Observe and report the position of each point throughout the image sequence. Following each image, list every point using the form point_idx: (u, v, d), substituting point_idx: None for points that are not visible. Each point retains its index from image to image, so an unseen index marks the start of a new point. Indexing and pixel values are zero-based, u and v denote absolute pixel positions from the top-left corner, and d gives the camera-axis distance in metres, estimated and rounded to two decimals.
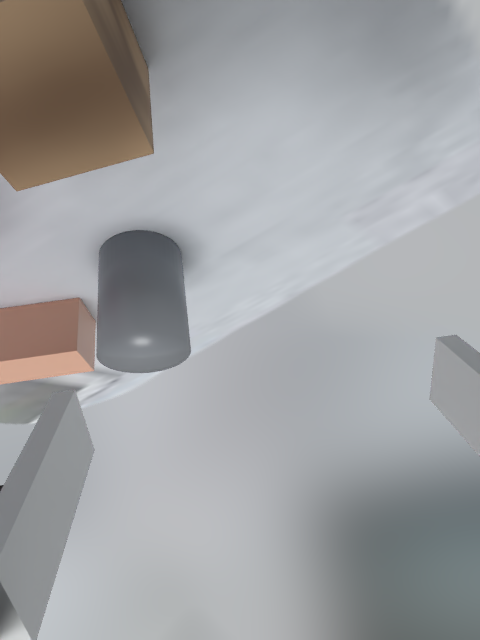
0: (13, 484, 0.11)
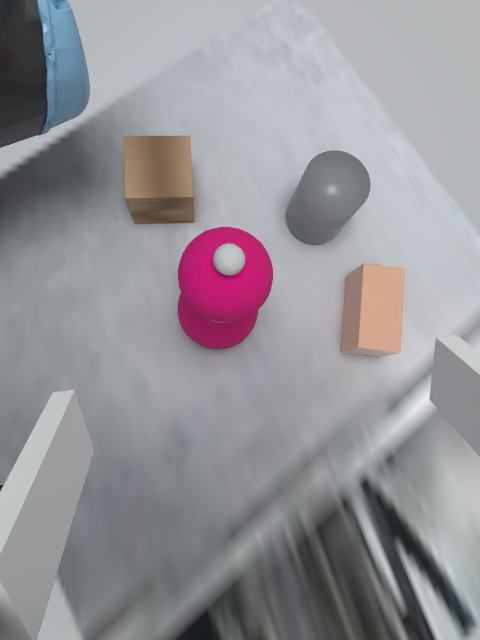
0: (13, 484, 0.11)
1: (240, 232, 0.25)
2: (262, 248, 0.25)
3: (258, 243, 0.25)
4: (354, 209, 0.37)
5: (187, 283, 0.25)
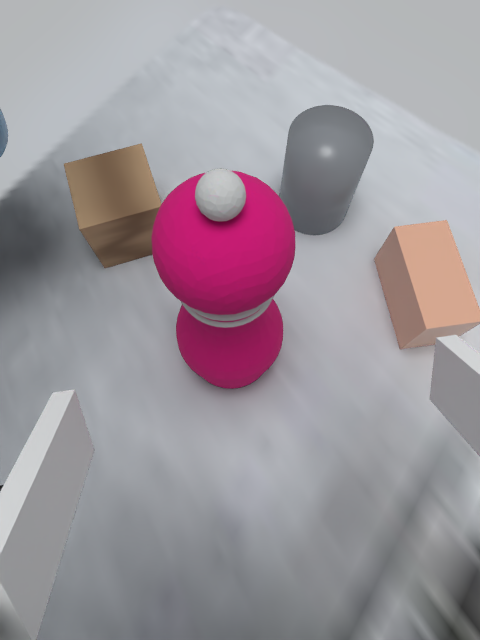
0: (13, 484, 0.11)
1: None
2: (265, 184, 0.17)
3: (258, 179, 0.17)
4: (362, 161, 0.29)
5: (167, 259, 0.16)
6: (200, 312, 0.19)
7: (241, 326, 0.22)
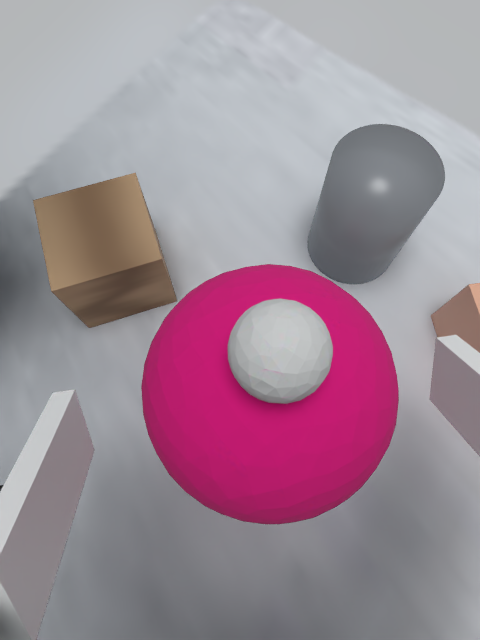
0: (13, 484, 0.11)
1: (278, 269, 0.09)
2: (347, 293, 0.09)
3: (332, 284, 0.09)
4: (432, 201, 0.21)
5: (171, 450, 0.08)
6: None
7: None
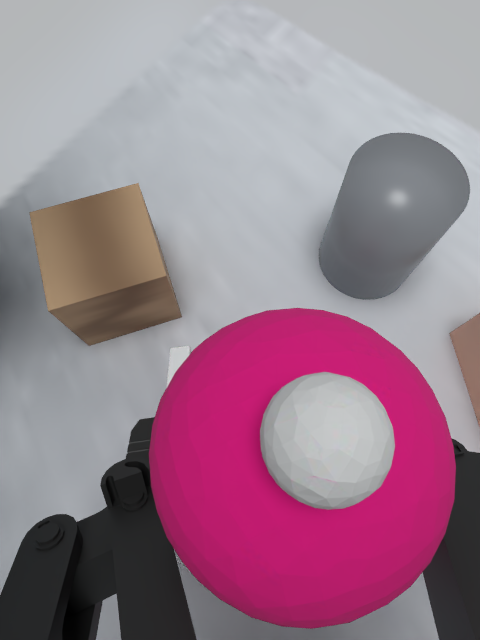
0: None
1: (311, 317, 0.08)
2: (392, 346, 0.08)
3: (374, 334, 0.08)
4: (456, 216, 0.20)
5: (185, 543, 0.07)
6: None
7: None
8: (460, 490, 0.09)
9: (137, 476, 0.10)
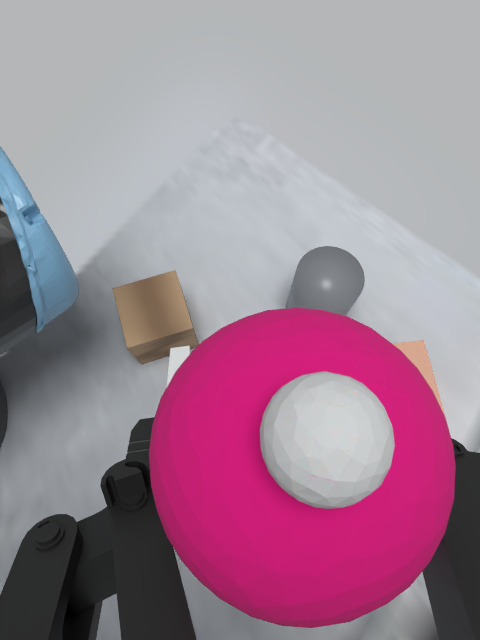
0: None
1: (311, 317, 0.08)
2: (391, 346, 0.08)
3: (374, 334, 0.08)
4: (355, 298, 0.36)
5: (185, 543, 0.07)
6: None
7: None
8: (460, 490, 0.09)
9: (137, 476, 0.10)
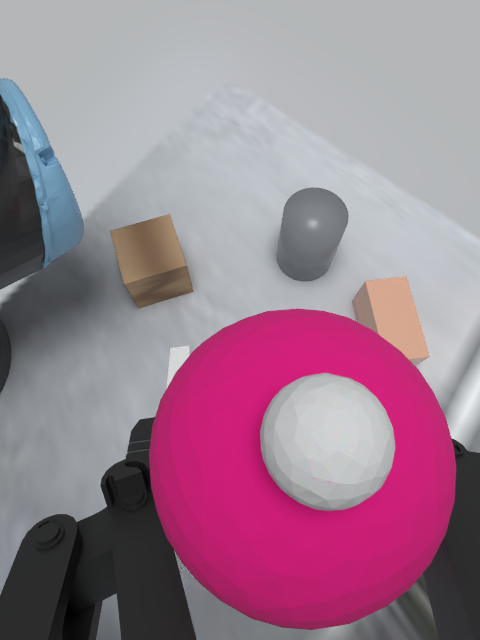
0: None
1: (311, 318, 0.08)
2: (392, 347, 0.08)
3: (375, 335, 0.08)
4: (339, 233, 0.38)
5: (185, 544, 0.07)
6: None
7: None
8: (460, 490, 0.09)
9: (137, 476, 0.10)
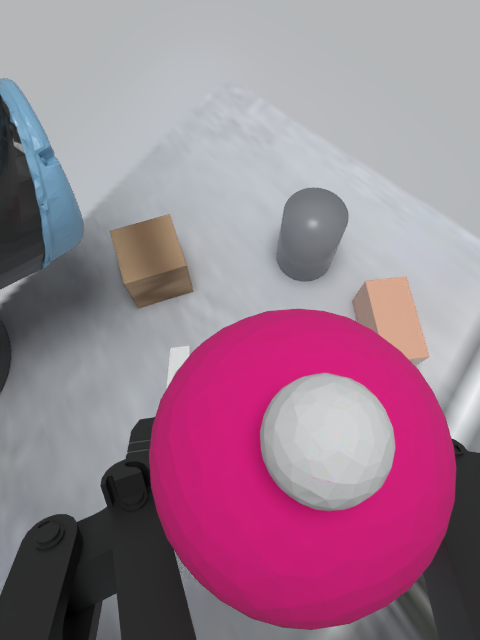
0: None
1: (311, 318, 0.08)
2: (392, 347, 0.08)
3: (375, 335, 0.08)
4: (339, 234, 0.38)
5: (185, 544, 0.07)
6: None
7: None
8: (460, 490, 0.09)
9: (137, 476, 0.10)
